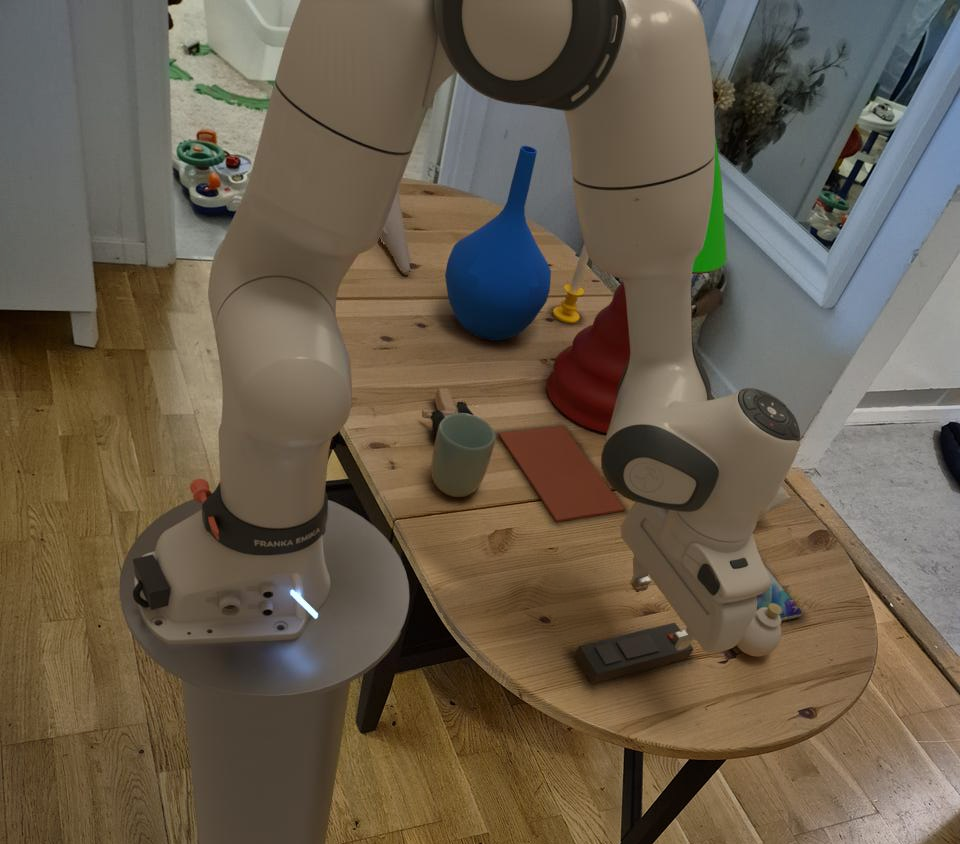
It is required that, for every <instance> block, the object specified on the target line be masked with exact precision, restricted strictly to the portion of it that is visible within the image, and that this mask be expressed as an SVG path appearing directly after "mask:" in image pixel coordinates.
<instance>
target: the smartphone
mask: <svg viewBox="0 0 960 844" xmlns="http://www.w3.org/2000/svg"><path fill="white" fill-rule="evenodd" d="M763 564H764V566H765V569H766V571H767V573H768V575H769V577H770V586H769V588H768V589H767V591H766V592H764V593H762V594H760V595H757V596H756V598H757V609H756V611H758V609H760V608H762V607H766V608H768V606H769V604H771V603H775V604H777V605H779V606H780V607H781V608H782V613H780V614H779V616H780V618H781V622H784V621H789V620H793V619H797V618H798V619H799V618H800V617H801V616H802V615H803V610H802V609H801V607H800V608H797V609H796V608H792V607H795V606H798V604H797V603H796V601H793V602H792V601H790V600H793V599H794V598H792V597H791V595H790V594H789V593H788V591H787V590H786V589H785V588H784V587H783V586H782V584H781V583H780V582H779V580H778V579H777V578H776V576H774V573H772V572H771V570H770V569H769V568H768V566H766V564H765V563H764V562H763ZM791 602H792V603H791ZM795 609H796V610H795ZM786 616H787V617H786ZM785 617H786V619H782V618H785Z"/></svg>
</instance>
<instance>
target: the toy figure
mask: <svg viewBox="0 0 960 844" xmlns="http://www.w3.org/2000/svg"><path fill="white" fill-rule="evenodd" d="M433 401H434V403H435V405H436V409H433V411H432V412H430V410H424V409H421V417H422V418H423V419H430V420H431V422H432V424H431V425H432V427H431V428H432V429H431V432H432V433H433V434H434V438H436V435H437V431H438V427H439V424H440V422H441V421H442V420H443V419H444V418H445V417H447V416H449V415H452V414H456V413H467V414H471V415H474V413H473V412H472V411H471V410H470V408H469V407H468V405H467V403H466V401H465V400H463V401H457V402H456V404H454V401H453V397H452V393H451V390H450V389H449V388H444V387H438V388H437V390H436V393H435V398H434V400H433Z"/></svg>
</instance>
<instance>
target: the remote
mask: <svg viewBox="0 0 960 844" xmlns="http://www.w3.org/2000/svg"><path fill="white" fill-rule="evenodd" d="M679 631H680V632H682V630H681V628H680V627H679V626H678V625H677V623H676V622H671V623H668V624H664V625H659V626H654V627H650V628H647V629H642V630H637V631H634V632H629V633H626V634H622V635H618V636H613V637H609V638H605V639H601V640H596V641H593V642H589V643H583V644H580V645H578V647H577V649H576V651H575V653H574V655H573V656H574V658H575V660H576V661H577V663H578V665H579V667H580V668H581V670H582V672H583V674H584V675H585V677H586V678H587V681H588V682H589V683H590V685H595V684H598V683H602V682H606V681H610V680H613V679H618V678H621V677H625V676H629V675H633V674H637V673H640V672H644V671H647V670H651V669H656V668H659V667H663V666H666V665H671V664H674V663H679V662H681V661H685V660H688V659H689V657H690V655H691V654H692V652H693V651H694V647H693V646H692V643H691V644H690V645H689V646H688V647H687V648H685V649H682V650H677V649H676V648H675V646H674V645H673V644H672V642H671V638H673V635H674V633H675V632H679Z"/></svg>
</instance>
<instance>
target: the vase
mask: <svg viewBox="0 0 960 844" xmlns="http://www.w3.org/2000/svg"><path fill="white" fill-rule="evenodd" d="M537 153H538V151H537V149H536V148H534V147H533V146H529V145H521V146H520V148H519V152H518V156H517V160H516V164H515V168H514V171H513V176H512V181H511V183H510V188H509V191H508V196H507V199H506V202H505V205H504V207H503V209H502V210H501V211H500V212H499V213H498V214H497V215H496V216H495V217H493V218H492V219H490V220H489V221H487V222H486V223H485V224H483V225H482V226H480V228H478V229H476V230H474V231H473V232H471V233H470V234H468V235H466V236H464V237H463V238H461V239H459V240H458V241H457V242H456V243H455V244H454V245H453V247H452V249H451V252H450V254H449V257H448V259H447V262H446V268H445V275H444V277H445V284H446V285H445V286H446V292H447V299H448V302H449V305H450V307H451V310H452V312H453V315H454V317H455V318H456V319H457V321H458V322H459V324H460V325H461V327H462V328H463V329H465V330H466V331H467V332H469V334H471V335H473V336H476V337H477V338H480V339H485V340H489V341H505V340H508V339H511V338H513V337H515V336H517V335H519V334H520V333H522V332H523V331H525V329H527V328H528V327H529V326H530V325H532V323H533V322H534V320H535V319H536V318H537V316H538V315H539V313H540V312H541V310H542V309H543V308H544V306H545V305H546V303H547V302H548V301H547V300H548V297H549V294H550V290H551V278H552V269H551V268H550V265H549V262H548V261H547V259H546V258H545V256H544V255H543V253H542V251H541V249H540V247H539V246H538V244H537V242H536V239H535V237H534V236H533V233H532V232H531V229H530V228H529V227H530V226H529V225H528V223H527V219H526V218H527V217H526V214H525V213H526V212H525V211H526V209H525V207H526V203H527V200H528V199H527V198H528V193H529V191H530V185H531V181H532V176H533V172H534V167H535V164H536V163H535V162H536V158H537V155H538V154H537Z"/></svg>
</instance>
